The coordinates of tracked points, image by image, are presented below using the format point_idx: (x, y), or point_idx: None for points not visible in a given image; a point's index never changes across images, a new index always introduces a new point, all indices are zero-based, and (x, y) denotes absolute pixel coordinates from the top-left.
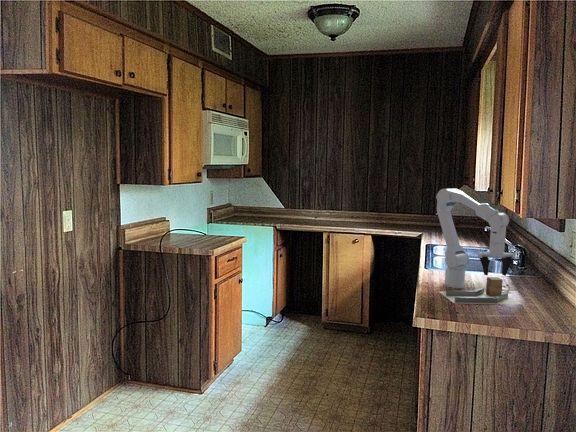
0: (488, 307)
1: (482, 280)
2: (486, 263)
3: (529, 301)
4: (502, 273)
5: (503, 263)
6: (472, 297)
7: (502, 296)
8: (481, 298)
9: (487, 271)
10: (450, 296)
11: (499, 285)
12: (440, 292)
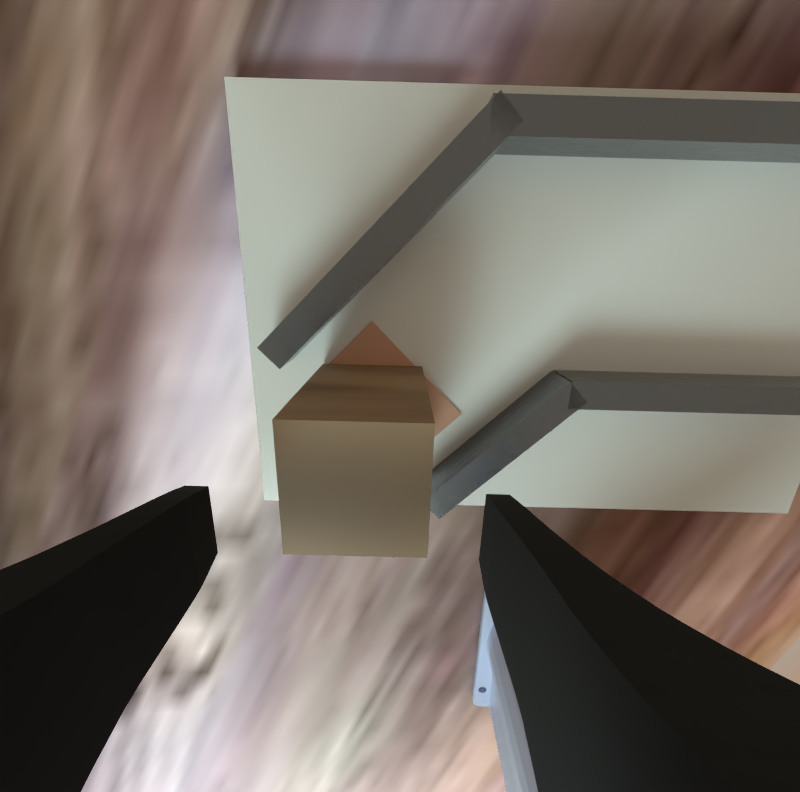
0: (611, 30)
1: (260, 782)
2: (712, 664)
3: (104, 271)
4: (206, 558)
5: (54, 768)
6: (783, 116)
7: (370, 231)
8: (680, 100)
9: (523, 522)
10: (798, 359)
11: (329, 393)
12: (795, 480)
